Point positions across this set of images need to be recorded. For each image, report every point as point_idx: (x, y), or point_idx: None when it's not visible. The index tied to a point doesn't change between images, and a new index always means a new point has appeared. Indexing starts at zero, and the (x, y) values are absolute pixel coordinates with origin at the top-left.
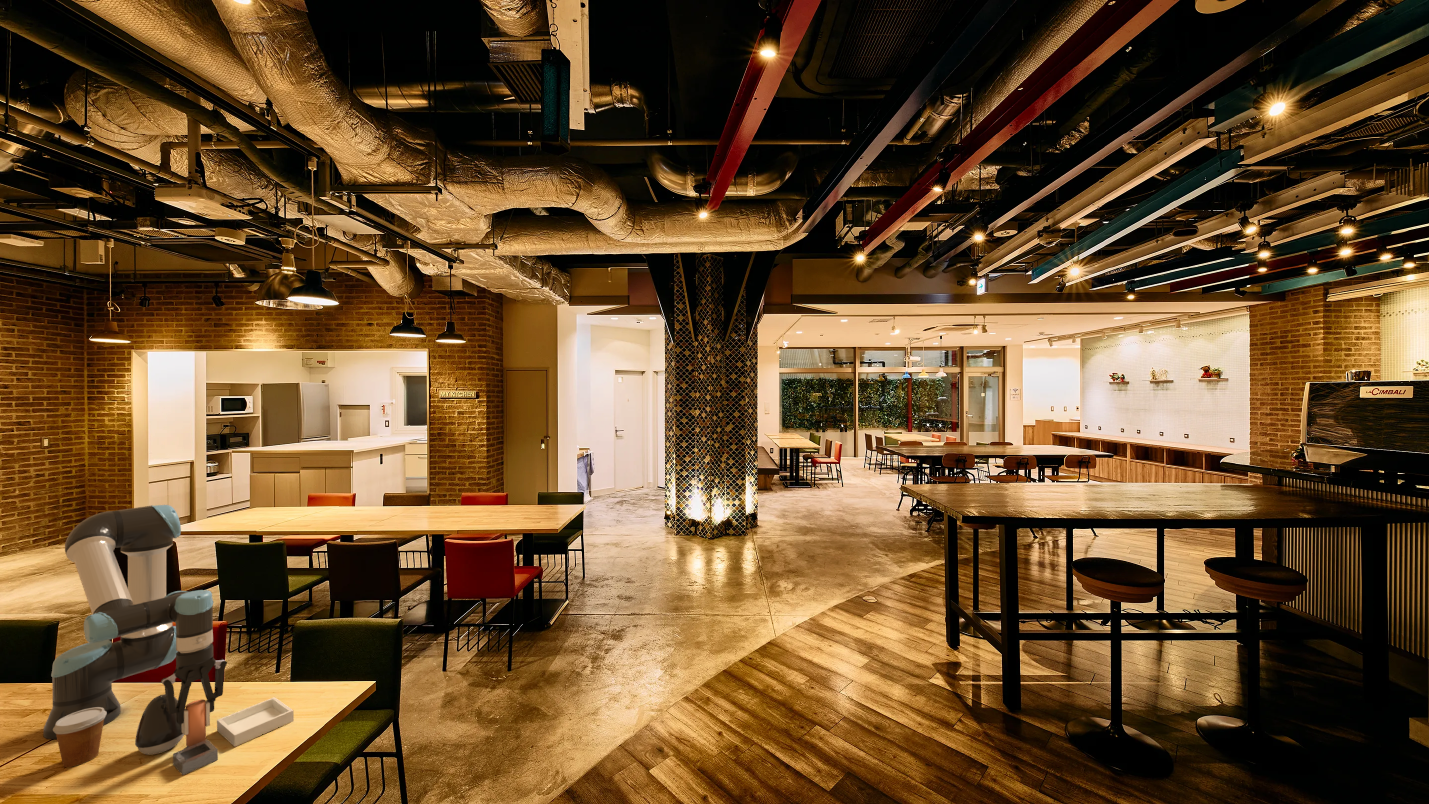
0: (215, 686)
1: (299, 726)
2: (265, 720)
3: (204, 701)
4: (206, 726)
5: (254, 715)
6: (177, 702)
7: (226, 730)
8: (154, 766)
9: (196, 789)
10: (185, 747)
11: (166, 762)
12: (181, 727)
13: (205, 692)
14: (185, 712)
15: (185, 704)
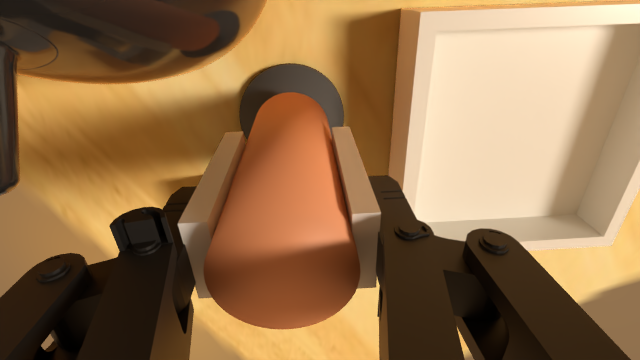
0: (514, 334)
1: (551, 265)
2: (538, 146)
3: (346, 297)
4: None
5: (557, 42)
6: (98, 313)
7: (401, 162)
8: (149, 123)
9: (249, 350)
10: (259, 78)
11: (189, 131)
12: (232, 43)
13: (383, 341)
14: (206, 292)
15: (186, 358)
